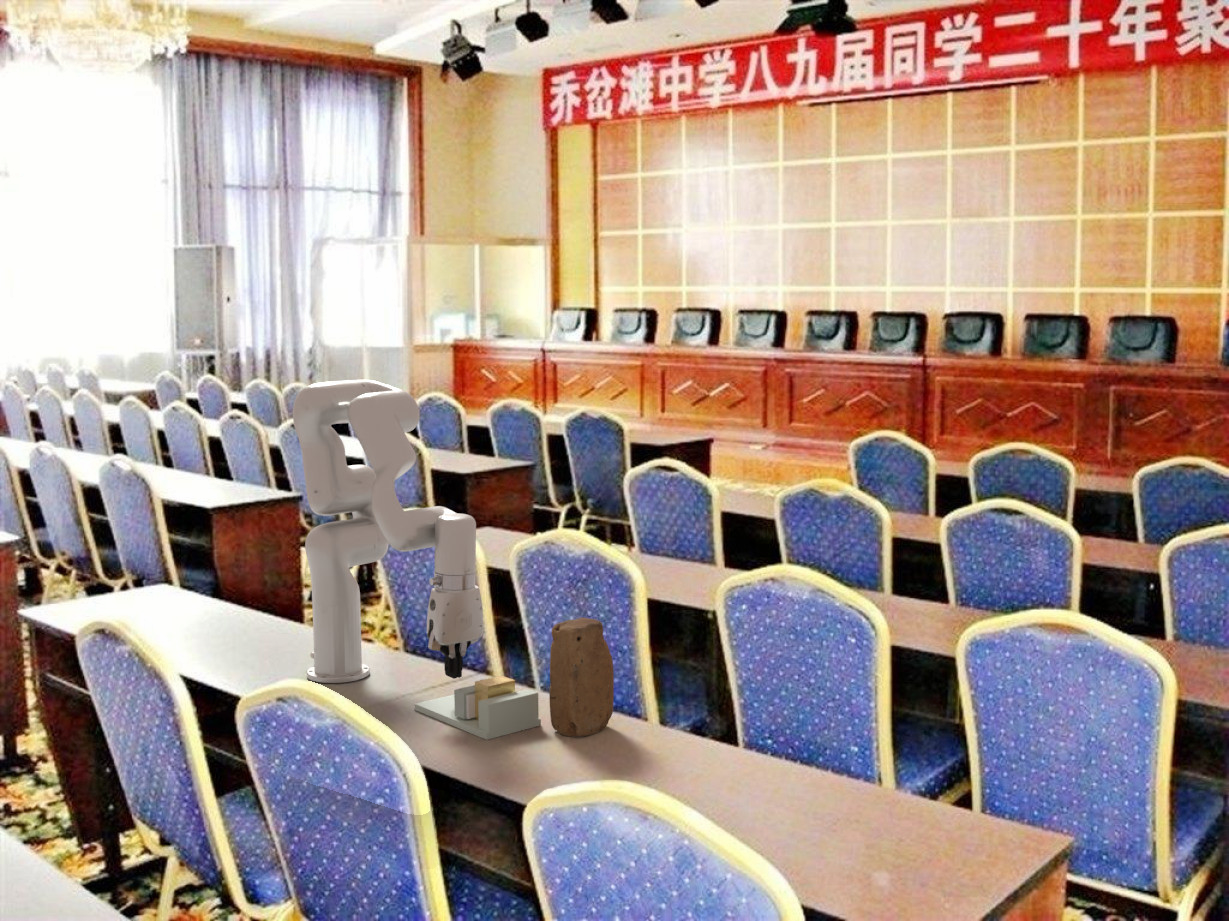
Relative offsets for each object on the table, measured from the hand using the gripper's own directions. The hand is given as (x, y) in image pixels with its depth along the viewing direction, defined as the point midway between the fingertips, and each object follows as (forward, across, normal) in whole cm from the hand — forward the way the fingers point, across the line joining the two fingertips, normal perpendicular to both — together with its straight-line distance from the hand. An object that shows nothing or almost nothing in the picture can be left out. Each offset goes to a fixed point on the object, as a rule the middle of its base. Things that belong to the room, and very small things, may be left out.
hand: (453, 676), depth 259 cm
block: (+5, +10, -26) cm, 28 cm away
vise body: (+6, 0, -7) cm, 9 cm away
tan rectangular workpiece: (+5, 0, -13) cm, 14 cm away
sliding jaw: (+4, 0, -9) cm, 10 cm away
